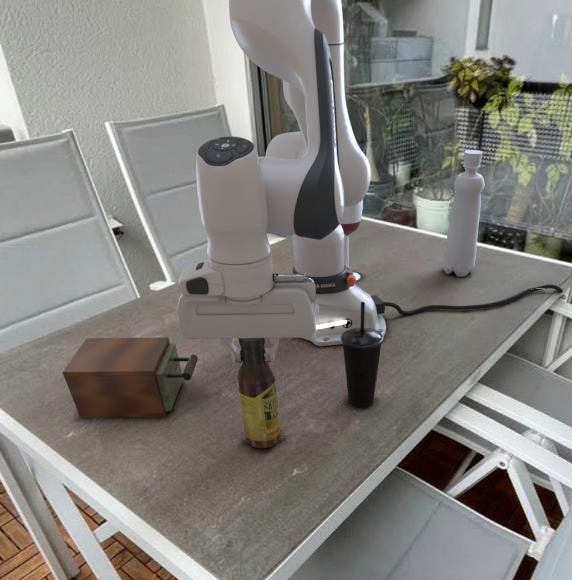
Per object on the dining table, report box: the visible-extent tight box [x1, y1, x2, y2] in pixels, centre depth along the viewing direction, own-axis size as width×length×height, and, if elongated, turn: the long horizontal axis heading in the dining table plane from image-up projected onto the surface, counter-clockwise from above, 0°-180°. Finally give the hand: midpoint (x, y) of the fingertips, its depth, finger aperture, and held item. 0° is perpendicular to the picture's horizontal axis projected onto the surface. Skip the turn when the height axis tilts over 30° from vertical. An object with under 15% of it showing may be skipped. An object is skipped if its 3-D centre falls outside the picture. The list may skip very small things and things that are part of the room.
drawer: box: [155, 342, 199, 412], centre depth 104 cm, size 19×12×8 cm, turn 92°
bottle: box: [441, 149, 486, 278], centre depth 147 cm, size 9×9×30 cm
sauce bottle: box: [237, 338, 281, 449], centre depth 91 cm, size 6×6×20 cm
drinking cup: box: [341, 302, 384, 409], centre depth 100 cm, size 8×8×20 cm
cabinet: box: [62, 336, 171, 419], centre depth 104 cm, size 16×13×10 cm
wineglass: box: [341, 198, 364, 281], centre depth 147 cm, size 8×9×20 cm
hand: (253, 361), depth 87 cm, fingers closed on sauce bottle, 4 cm apart
